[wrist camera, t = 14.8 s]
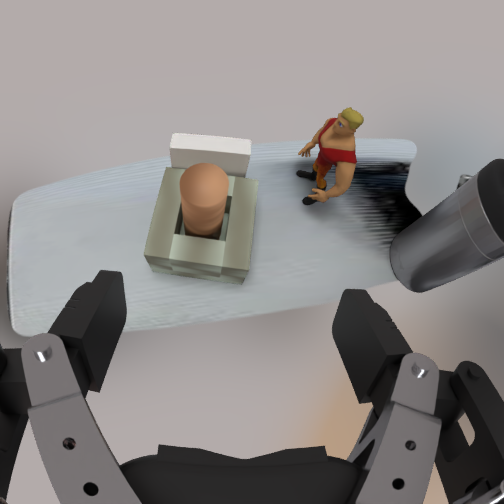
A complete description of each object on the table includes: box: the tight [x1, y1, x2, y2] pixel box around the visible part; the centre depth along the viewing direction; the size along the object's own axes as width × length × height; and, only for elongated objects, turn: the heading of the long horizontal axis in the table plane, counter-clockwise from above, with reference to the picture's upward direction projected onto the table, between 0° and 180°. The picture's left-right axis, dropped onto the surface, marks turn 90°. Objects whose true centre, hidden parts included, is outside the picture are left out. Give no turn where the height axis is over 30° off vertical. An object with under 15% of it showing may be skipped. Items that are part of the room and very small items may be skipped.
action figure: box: [296, 107, 364, 205], centre depth 32 cm, size 10×4×15 cm, turn 6°
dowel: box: [179, 163, 229, 240], centre depth 28 cm, size 4×4×10 cm
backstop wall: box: [170, 133, 251, 178], centre depth 32 cm, size 8×2×9 cm, turn 88°
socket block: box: [144, 167, 258, 285], centre depth 32 cm, size 10×10×6 cm
